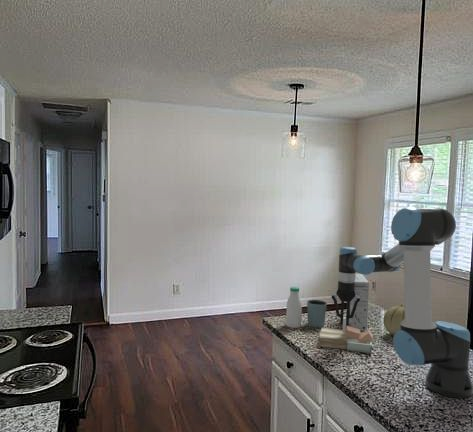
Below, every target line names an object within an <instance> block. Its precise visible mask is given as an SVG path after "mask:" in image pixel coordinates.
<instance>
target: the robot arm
mask: <svg viewBox="0 0 473 432" xmlns="http://www.w3.org/2000/svg"><path fill="white" fill-rule="evenodd" d="M456 222H457V221H456V219H455V217H454V215H453V214H452V213H451V212H450V211H448V210H447V209H445V208H443V207H426V206H425V207H424V206H423V207H422V206H421V207H419V206H410V207H404V208H400V209H399V210H397V212H396V213H395V214H394V216H393V218H392V220H391V224H390V225H391V226H390V229H391V234H392V235H393V238H394V239H395V240H396V241H398V244H396V245H394V246H393V247H392V248H390V249H389V250H387V251H386V252H385V253H383V254H366V255H363V254H362V255H361V254H358V252H357V248H356V247H354V246H353V247H352V246H351V247H350V246H343V247H340V248H339V254H338V277H337V278H338V279H337V290H336V293H334V294H333V293H332V294H331V299H332V300H333V304H334V310H335V314H336V316H337V317H339V318H340V322H339V323H340V326H342V330H343V331H342V333H346V327H347V326H350V325H349V318H353V316H354V313H355V310H356V307H357V304H358V302H359V301H360V297H358V296H356V293H355V282H354V281H355V276H356V274H362V275H363V276H368V275H370V274H372V273H392V272H398V270H400V268H401V266H402V264H403V285H404V286H403V288H404V292H403V293H404V308H405V319H404V320H403V321H402V322H401V323H400V327H401V328H400V329H401V330H399V331H397V332H396V333H395V335H394V336H393V338H392V339H393V347H394V350H395V353H396V354H397V356H398V358H399V359H400V360H401V361H402V362H403V363H404V364H406V365H407V366H408V365H409V366H423V365H424V366H425V365H430V364H431V365H430V366H429V369H428V370H427V371H428V372H427V373H426V375H425V376H426V377H425V386H426V387H427V389H429V390H430V391H432V392H434V393H436V394H438V395H442V396H444V397H449V398H453V399H467V398H470V397H472V396H473V381H472V379H471V375H470V372H469V367H470V366H469V365H470V364H469V363H470V352H471V351H470V350H471V349H470V348H471V341H472V340H471V333H470V332H471V331H469V329H468V328H466V327H464V326H462V325H460V324H456V323H452V322H447V321H443V320H442V321H440V320H437V321H433V320H432V319H433V318H432V317H433V316H432V272H431V271H432V268H431V264H432V263H431V251H432V249H434V248H435V247H436V246H439V245H441V244H442V243H445V242H446V241H447V240H449V239H450V238H452V236H453V235H454V233H455V231H456V228H457V223H456ZM354 297H355V302H354V306H353V309H352V312H351V314H350V315H349V309H350V301H351V300H352V299H353V298H354ZM337 298H338V299H339V300H340V301H341V302H340V303H341V304H340V310H339V305H338V300H337ZM345 302H346V312H345V313H346V316H344V310H345Z"/></svg>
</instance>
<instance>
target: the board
mask: <svg viewBox="0 0 473 432" xmlns="http://www.w3.org/2000/svg"><path fill="white" fill-rule="evenodd" d="M342 331H343V329H339V328H328V327H321V330H320V333H319V338H318V347H324V348H333V349H339V350H340V349H341V350H347V342H348V337H346V336H345V333H342Z"/></svg>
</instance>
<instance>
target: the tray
mask: <svg viewBox="0 0 473 432" xmlns="http://www.w3.org/2000/svg"><path fill="white" fill-rule="evenodd" d="M363 332H364V331H360V334H361V333H363ZM372 341H373V340H370V341H369V342H367V343H366V344H362V343H359V342H358V340H356V339H353V338H350V337H347V349H346V351H350V352H360V353H367V354H372V353H373V352H372V350H373V343H372Z"/></svg>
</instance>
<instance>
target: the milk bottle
mask: <svg viewBox="0 0 473 432" xmlns="http://www.w3.org/2000/svg"><path fill="white" fill-rule="evenodd" d="M289 293H290V294H289V297H288V299H287V301H286V312H285V313H286V317H285V325H286V327H288V328H292V329H298V328H301V327H302V312H303V310H302V309H303V308H302V306H303V305H302V300H301V297H300V287H297V286H291V287H290V288H289Z"/></svg>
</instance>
